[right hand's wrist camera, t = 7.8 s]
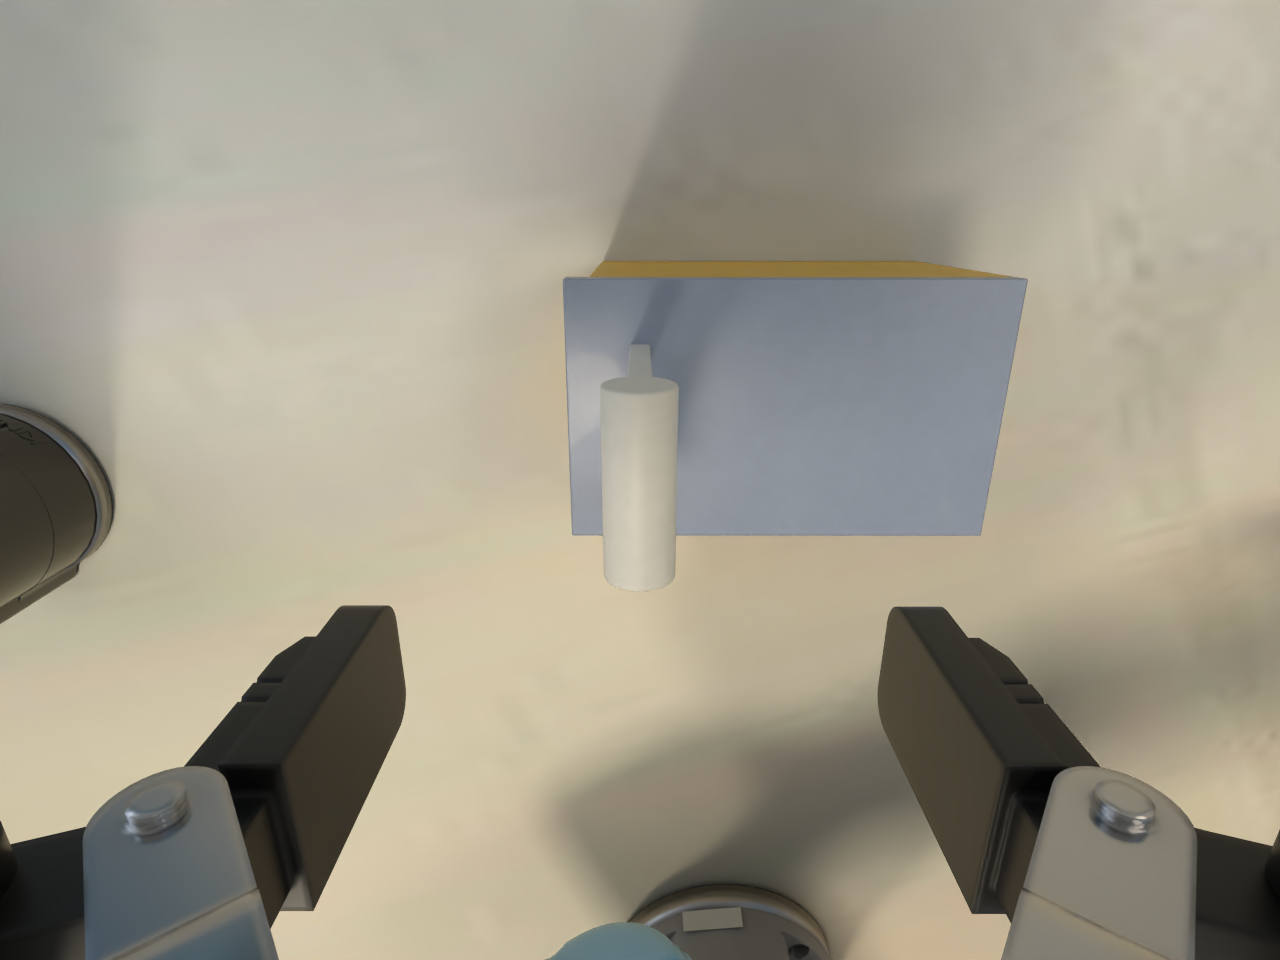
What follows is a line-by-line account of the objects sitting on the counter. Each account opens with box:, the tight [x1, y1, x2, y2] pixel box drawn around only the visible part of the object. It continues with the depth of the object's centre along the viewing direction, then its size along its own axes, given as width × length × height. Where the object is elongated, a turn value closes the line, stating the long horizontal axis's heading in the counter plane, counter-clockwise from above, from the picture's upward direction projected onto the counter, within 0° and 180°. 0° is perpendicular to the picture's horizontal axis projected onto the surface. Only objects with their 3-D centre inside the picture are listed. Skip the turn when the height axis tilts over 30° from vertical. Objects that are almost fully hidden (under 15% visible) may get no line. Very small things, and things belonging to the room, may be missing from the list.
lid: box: [563, 277, 1027, 592], centre depth 22 cm, size 16×10×9 cm, turn 90°
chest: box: [590, 261, 1011, 277], centre depth 31 cm, size 15×10×10 cm, turn 90°
